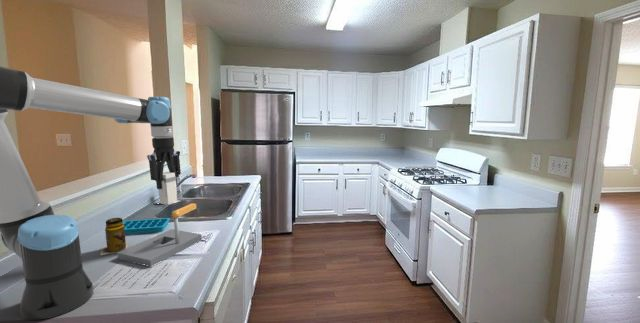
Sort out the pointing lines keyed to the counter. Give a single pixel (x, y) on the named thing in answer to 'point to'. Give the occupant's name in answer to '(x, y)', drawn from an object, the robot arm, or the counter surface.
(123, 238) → the condiment
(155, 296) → the counter surface
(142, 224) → the ice cube tray
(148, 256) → the grey flat slab
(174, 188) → the white upright block
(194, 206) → the clip
